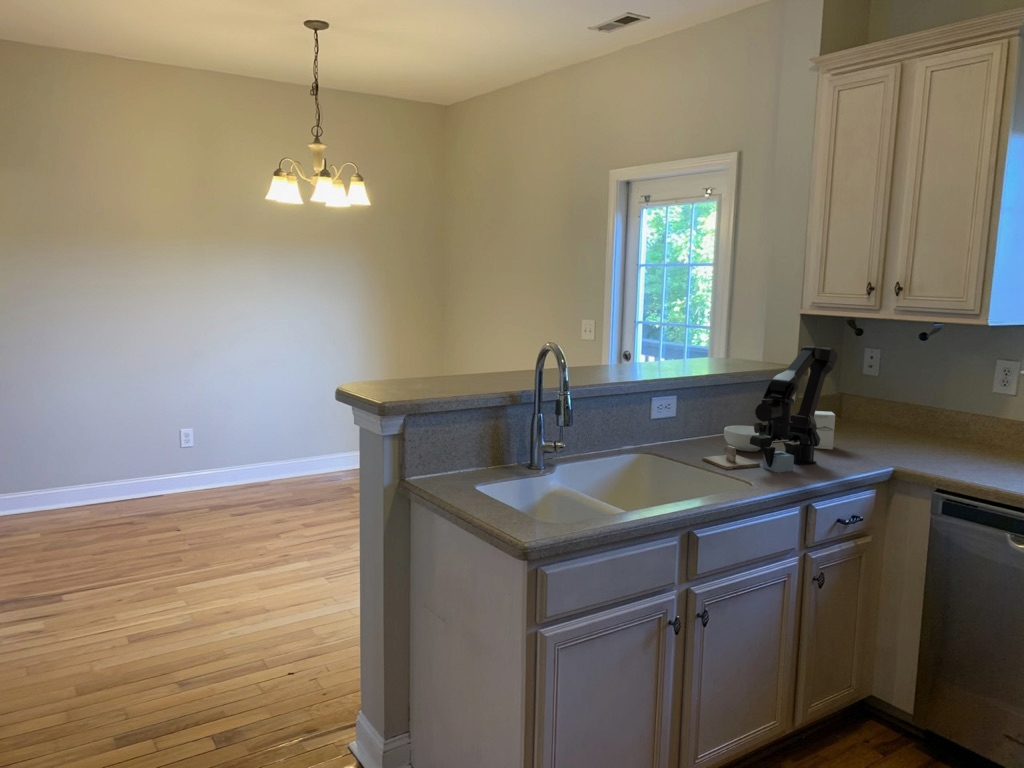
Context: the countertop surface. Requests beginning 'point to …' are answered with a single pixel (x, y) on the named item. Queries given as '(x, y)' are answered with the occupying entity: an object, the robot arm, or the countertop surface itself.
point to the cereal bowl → (741, 437)
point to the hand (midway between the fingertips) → (778, 466)
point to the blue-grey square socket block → (780, 462)
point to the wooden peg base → (731, 460)
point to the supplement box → (825, 428)
